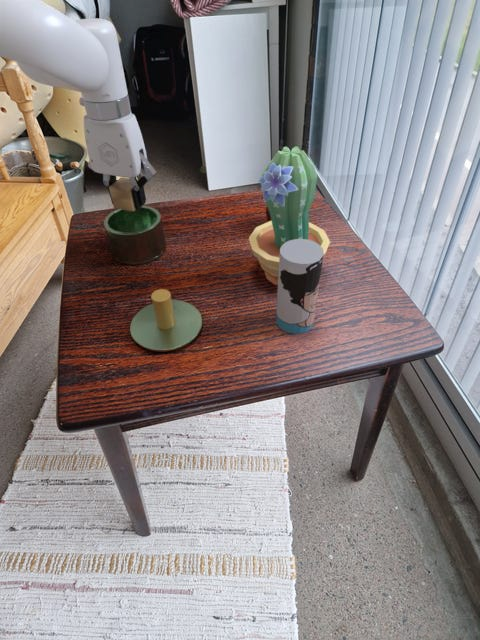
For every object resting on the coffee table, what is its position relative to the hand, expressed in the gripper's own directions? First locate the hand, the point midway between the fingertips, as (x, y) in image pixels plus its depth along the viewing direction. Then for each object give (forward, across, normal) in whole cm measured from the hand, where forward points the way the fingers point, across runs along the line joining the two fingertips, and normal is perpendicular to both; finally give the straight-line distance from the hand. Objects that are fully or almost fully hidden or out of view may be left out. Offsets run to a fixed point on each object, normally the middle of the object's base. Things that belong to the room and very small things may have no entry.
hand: (129, 203), depth 85 cm
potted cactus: (+11, +33, +2) cm, 35 cm away
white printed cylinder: (+11, +38, -11) cm, 41 cm away
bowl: (+11, 0, 0) cm, 11 cm away
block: (0, 0, 0) cm, 0 cm away
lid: (+10, +17, -20) cm, 28 cm away
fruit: (+11, +28, +19) cm, 36 cm away
